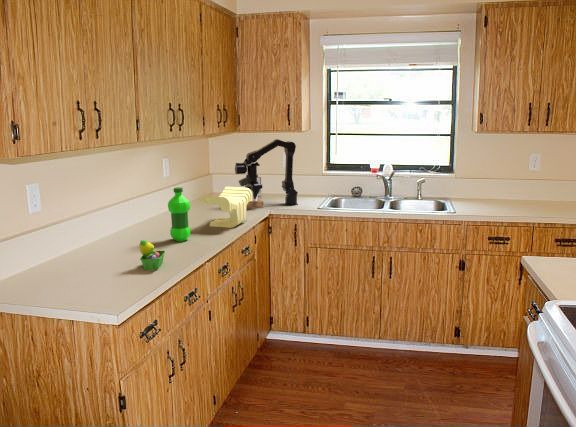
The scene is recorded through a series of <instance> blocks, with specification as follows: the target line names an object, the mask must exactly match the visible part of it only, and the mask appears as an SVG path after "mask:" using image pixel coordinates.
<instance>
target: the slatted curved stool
mask: <svg viewBox="0 0 576 427" xmlns="http://www.w3.org/2000/svg"><path fill="white" fill-rule="evenodd" d="M250 201H252V192H251V190H250V189H249V188H245V186H241V187H239V186H237V187H236V186H225V187H224V189H223V190H222V192H221V193H220V194H219V196H211V195H200V202H203V203H207V204H209V205H216V206H217V205H218V207H219V208H220V209H221V212H222V213H223V212H224V213H225V212H227V213H229V217H218V218H217V219H214V220H212V221H211V222H209V227H216V228H230V229H232V228H235V227H236V226H239V225H240V224H242V223H244V222H245V221H246V219H247V204H248V202H250Z"/></svg>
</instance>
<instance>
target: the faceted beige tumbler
mask: <svg viewBox="0 0 576 427" xmlns="http://www.w3.org/2000/svg"><path fill="white" fill-rule="evenodd" d="M250 190H251V189H250ZM251 192H252V201H251V202H254V201H257V200H258V195H257V197H256V199H254V197H253V191H252V190H251Z"/></svg>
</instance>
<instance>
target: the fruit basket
mask: <svg viewBox="0 0 576 427" xmlns="http://www.w3.org/2000/svg"><path fill="white" fill-rule="evenodd" d="M138 245H139V247H140V248H139V250H140V253H141V254H142V256H141V257H140V258H139V259H140V261H141V264H142V266H143V269H144V271H158V270H159V269H160V267H161V266H162V264H163V262H164V257H165V253H166V250H155V249H154V248H155V246H154V244H152V243H151V242H149V241H148V240H146V239H143V240H140V243H139V244H138Z"/></svg>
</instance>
